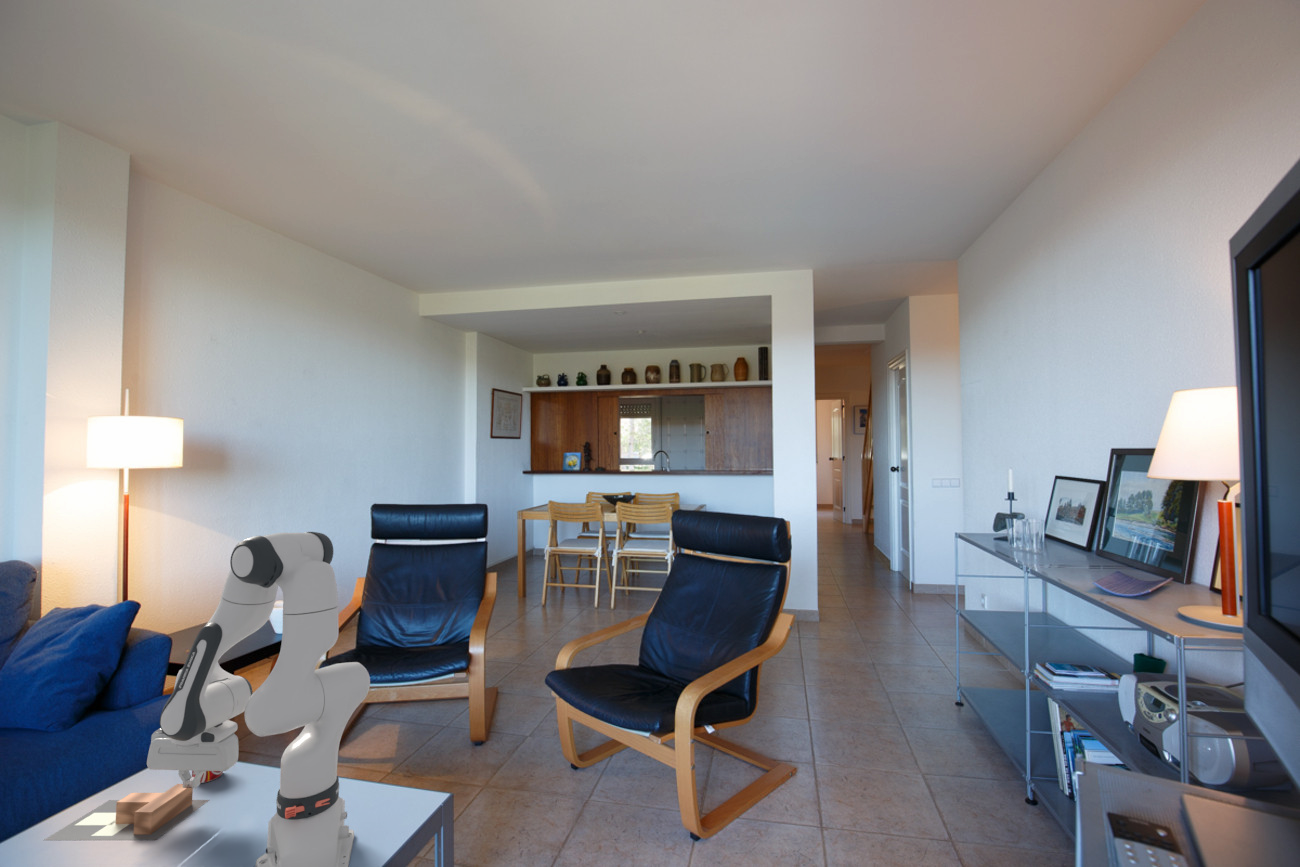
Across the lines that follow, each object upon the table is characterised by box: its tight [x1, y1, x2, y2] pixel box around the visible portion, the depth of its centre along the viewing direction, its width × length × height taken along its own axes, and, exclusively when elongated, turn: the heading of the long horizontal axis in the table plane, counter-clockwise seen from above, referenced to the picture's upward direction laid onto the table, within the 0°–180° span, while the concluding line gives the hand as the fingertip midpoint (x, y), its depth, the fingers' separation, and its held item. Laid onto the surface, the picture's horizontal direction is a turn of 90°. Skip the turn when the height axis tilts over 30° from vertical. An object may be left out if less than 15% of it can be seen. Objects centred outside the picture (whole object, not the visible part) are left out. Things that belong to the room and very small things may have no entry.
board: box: [43, 799, 210, 841], centre depth 139 cm, size 26×16×1 cm, turn 90°
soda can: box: [191, 771, 224, 784], centre depth 158 cm, size 7×7×12 cm
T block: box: [115, 783, 194, 834], centre depth 139 cm, size 12×12×5 cm
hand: (191, 786), depth 140 cm, fingers closed
